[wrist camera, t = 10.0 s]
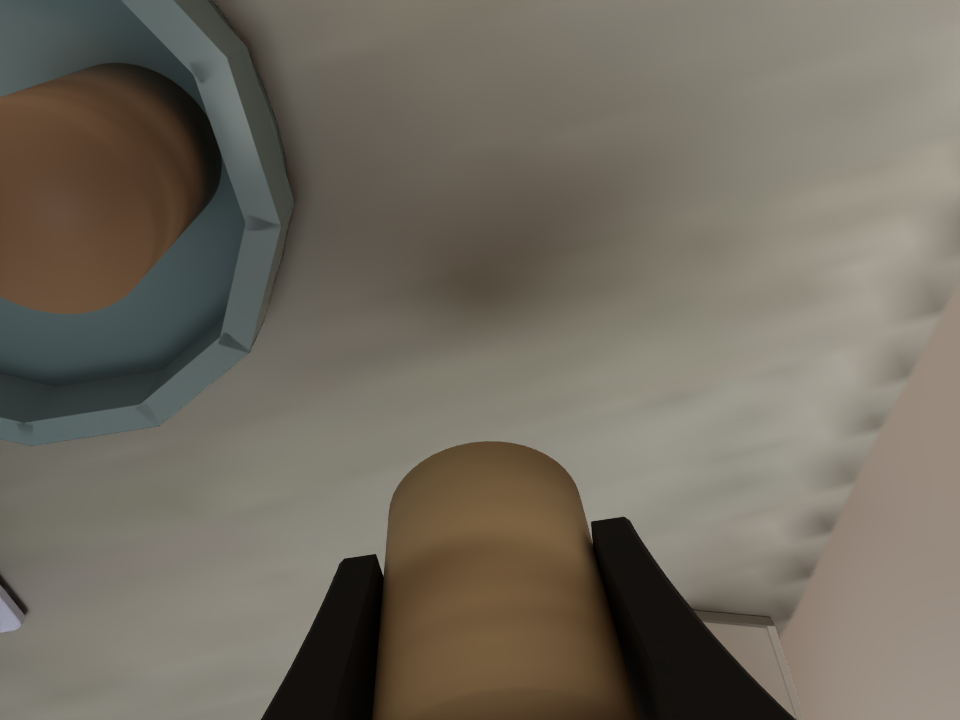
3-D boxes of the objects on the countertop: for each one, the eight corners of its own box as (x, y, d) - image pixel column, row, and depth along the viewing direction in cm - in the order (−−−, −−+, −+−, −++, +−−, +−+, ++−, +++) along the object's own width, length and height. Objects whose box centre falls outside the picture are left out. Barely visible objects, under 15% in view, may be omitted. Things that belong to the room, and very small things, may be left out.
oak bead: (586, 567, 15) (648, 816, 10) (409, 593, 15) (400, 850, 11) (574, 427, 13) (645, 667, 8) (369, 458, 13) (335, 711, 8)
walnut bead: (244, 213, 17) (183, 297, 13) (96, 237, 18) (-10, 328, 13) (186, 49, 15) (92, 85, 11) (19, 77, 15) (-138, 125, 11)
